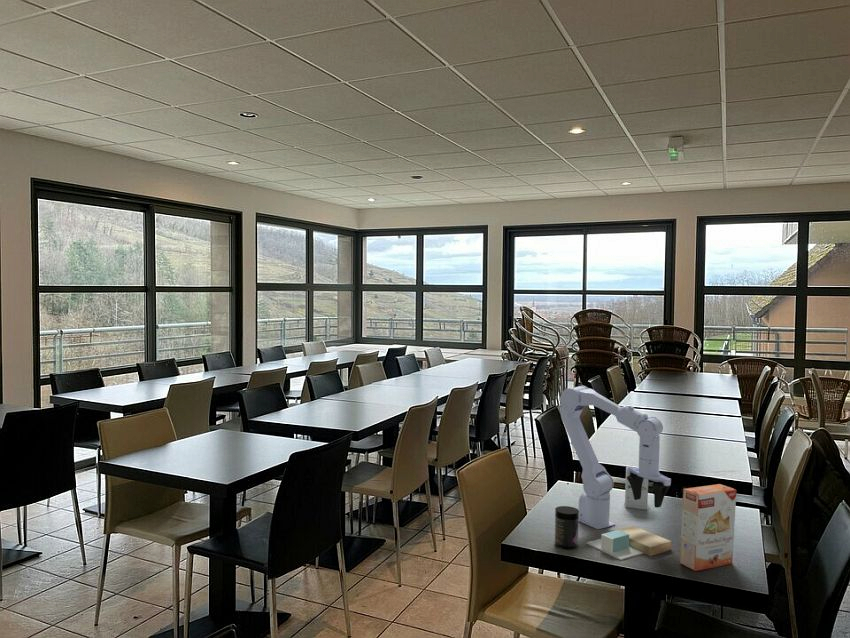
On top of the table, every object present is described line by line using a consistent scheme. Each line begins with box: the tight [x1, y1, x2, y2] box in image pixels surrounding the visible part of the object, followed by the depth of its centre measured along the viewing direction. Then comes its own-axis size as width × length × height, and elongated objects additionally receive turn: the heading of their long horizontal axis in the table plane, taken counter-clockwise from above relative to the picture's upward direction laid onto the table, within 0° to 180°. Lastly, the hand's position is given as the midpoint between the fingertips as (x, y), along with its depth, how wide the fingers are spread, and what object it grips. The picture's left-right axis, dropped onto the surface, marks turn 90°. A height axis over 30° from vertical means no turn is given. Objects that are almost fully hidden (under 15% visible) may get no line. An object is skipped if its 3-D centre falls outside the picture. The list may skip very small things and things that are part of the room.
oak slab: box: [611, 525, 672, 557], centre depth 184 cm, size 14×9×2 cm, turn 31°
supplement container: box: [554, 505, 580, 550], centre depth 182 cm, size 7×7×10 cm
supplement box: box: [624, 466, 649, 511], centre depth 217 cm, size 7×7×13 cm
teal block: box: [600, 529, 629, 553], centre depth 180 cm, size 4×4×7 cm
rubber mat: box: [585, 538, 644, 561], centre depth 180 cm, size 13×9×1 cm
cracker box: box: [679, 483, 737, 572], centre depth 171 cm, size 14×6×21 cm, turn 114°
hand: (647, 503), depth 189 cm, fingers open, 7 cm apart
